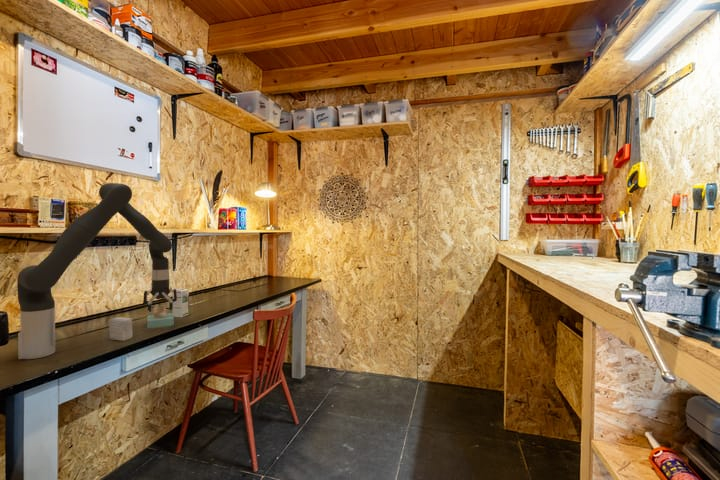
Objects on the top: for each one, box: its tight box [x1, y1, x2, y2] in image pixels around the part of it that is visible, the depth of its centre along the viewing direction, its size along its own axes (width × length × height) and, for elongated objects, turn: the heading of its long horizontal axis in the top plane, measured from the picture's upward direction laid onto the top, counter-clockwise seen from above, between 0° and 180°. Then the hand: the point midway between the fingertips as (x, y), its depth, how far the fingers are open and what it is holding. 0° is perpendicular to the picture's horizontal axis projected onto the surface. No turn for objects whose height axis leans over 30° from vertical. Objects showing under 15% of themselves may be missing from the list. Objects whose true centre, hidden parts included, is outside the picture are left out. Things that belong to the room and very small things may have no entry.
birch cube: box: [153, 305, 167, 319], centre depth 166 cm, size 5×5×5 cm
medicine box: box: [108, 316, 133, 342], centre depth 144 cm, size 8×4×9 cm, turn 74°
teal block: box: [146, 312, 175, 329], centre depth 166 cm, size 11×11×4 cm
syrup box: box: [172, 288, 190, 318], centre depth 182 cm, size 6×6×14 cm
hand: (160, 310), depth 166 cm, fingers open, 8 cm apart
